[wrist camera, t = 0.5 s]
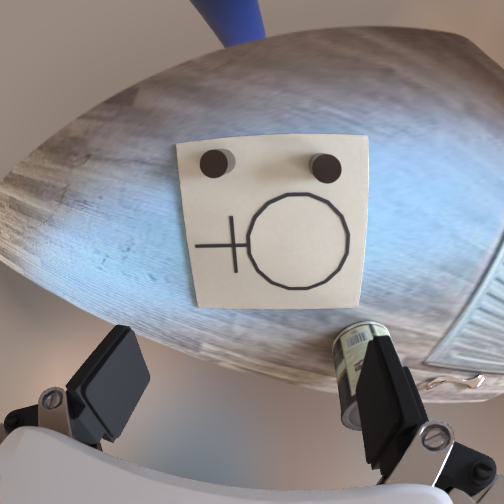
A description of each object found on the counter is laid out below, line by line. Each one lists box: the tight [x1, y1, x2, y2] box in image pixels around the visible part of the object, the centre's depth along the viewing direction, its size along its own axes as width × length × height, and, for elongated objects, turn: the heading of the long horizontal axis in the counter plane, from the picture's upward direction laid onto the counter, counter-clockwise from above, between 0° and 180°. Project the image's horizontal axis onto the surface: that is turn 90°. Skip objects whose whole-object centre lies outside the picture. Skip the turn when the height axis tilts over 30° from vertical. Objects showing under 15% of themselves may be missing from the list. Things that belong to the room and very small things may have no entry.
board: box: [176, 134, 369, 309], centre depth 35 cm, size 24×24×1 cm
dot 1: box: [200, 149, 236, 178], centre depth 30 cm, size 3×3×4 cm
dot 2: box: [309, 153, 342, 184], centre depth 29 cm, size 3×3×4 cm
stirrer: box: [426, 373, 485, 390], centre depth 41 cm, size 20×4×5 cm
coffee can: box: [332, 321, 402, 431], centre depth 34 cm, size 10×10×14 cm
